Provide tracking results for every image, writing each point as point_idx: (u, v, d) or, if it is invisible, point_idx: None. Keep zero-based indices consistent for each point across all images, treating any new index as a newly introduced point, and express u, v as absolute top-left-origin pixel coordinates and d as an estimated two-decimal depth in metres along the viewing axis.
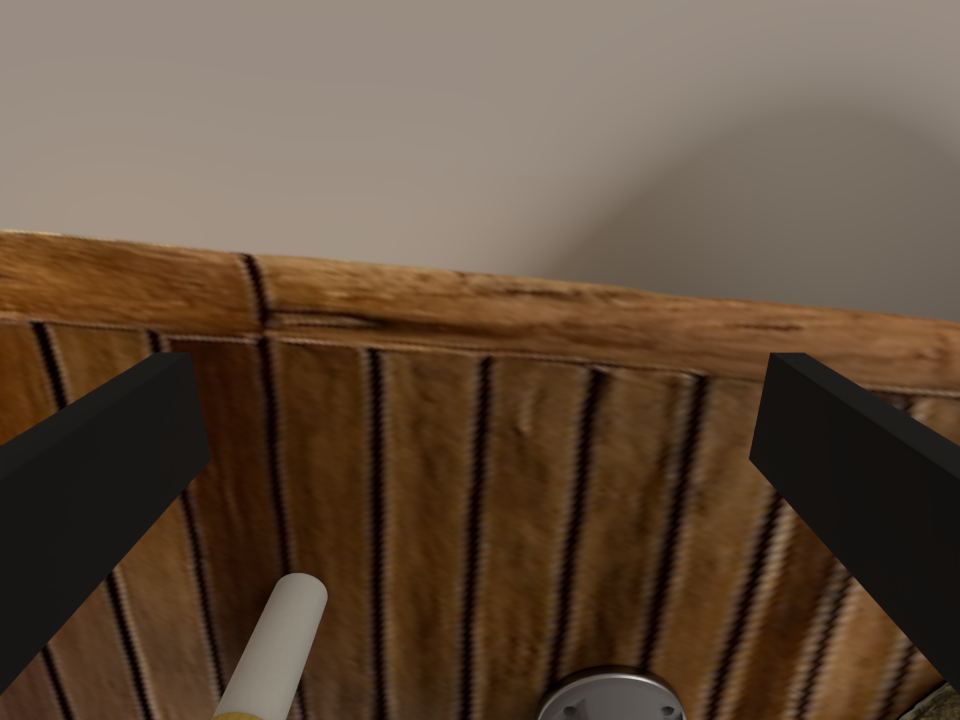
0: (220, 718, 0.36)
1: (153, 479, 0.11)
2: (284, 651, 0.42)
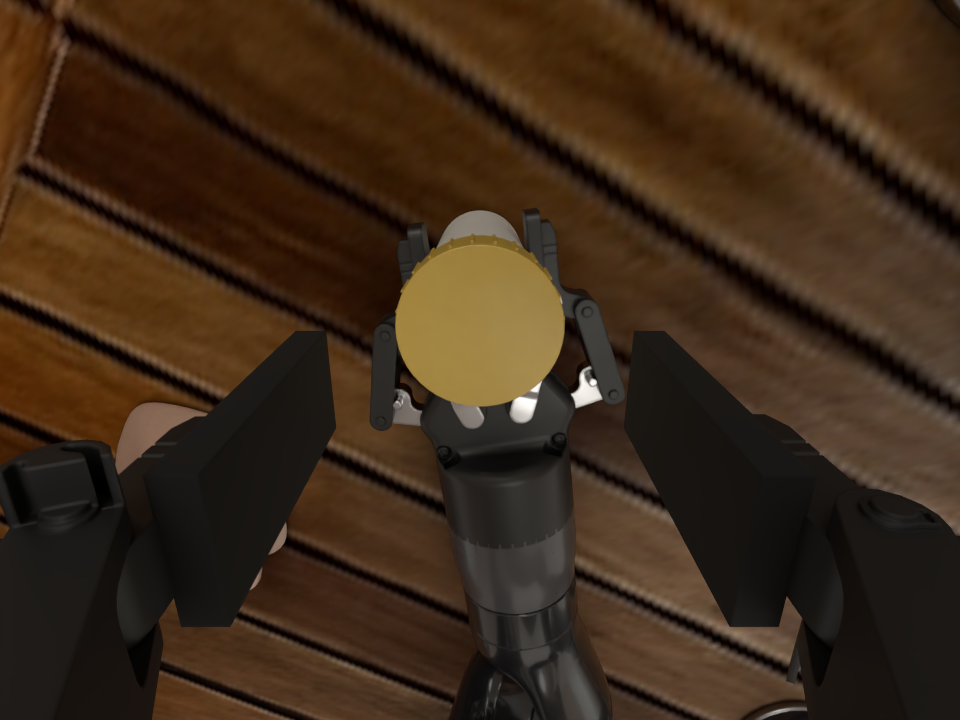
0: None
1: (308, 439, 0.12)
2: (455, 232, 0.24)
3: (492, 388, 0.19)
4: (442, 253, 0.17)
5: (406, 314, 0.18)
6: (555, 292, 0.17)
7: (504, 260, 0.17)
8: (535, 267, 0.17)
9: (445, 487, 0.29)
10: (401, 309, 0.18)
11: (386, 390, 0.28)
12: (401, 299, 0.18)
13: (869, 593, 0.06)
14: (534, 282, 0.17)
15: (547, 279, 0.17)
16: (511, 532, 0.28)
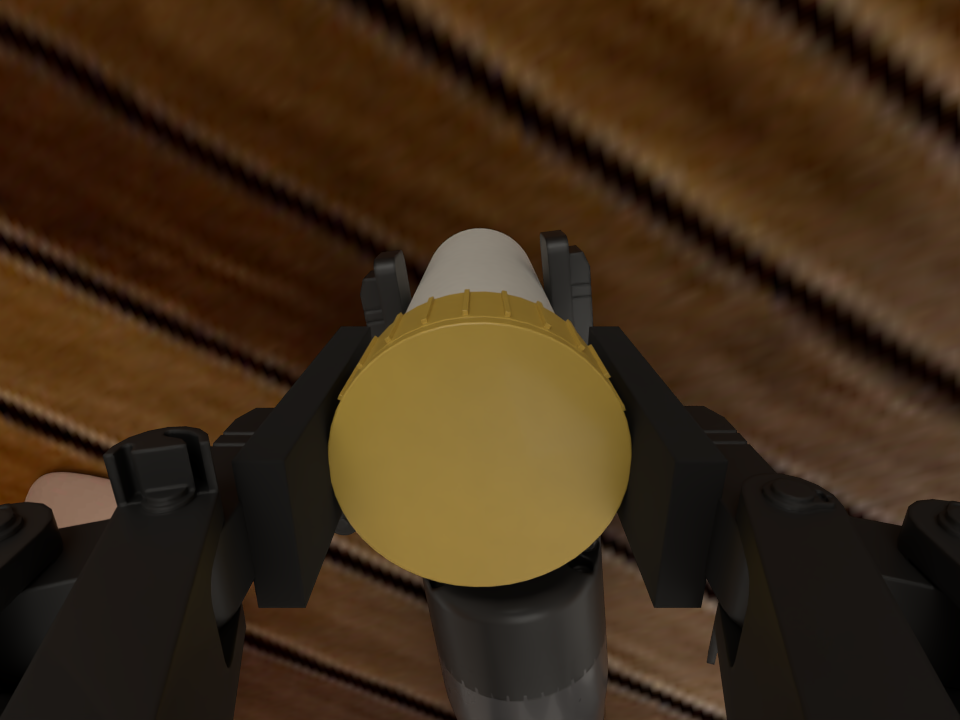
0: None
1: None
2: (444, 269, 0.16)
3: (501, 560, 0.11)
4: (409, 337, 0.09)
5: (346, 442, 0.10)
6: (618, 405, 0.10)
7: (525, 350, 0.09)
8: (582, 362, 0.09)
9: (432, 610, 0.21)
10: (337, 433, 0.10)
11: None
12: (336, 417, 0.10)
13: (769, 575, 0.06)
14: (580, 388, 0.09)
15: (604, 383, 0.09)
16: (523, 681, 0.20)
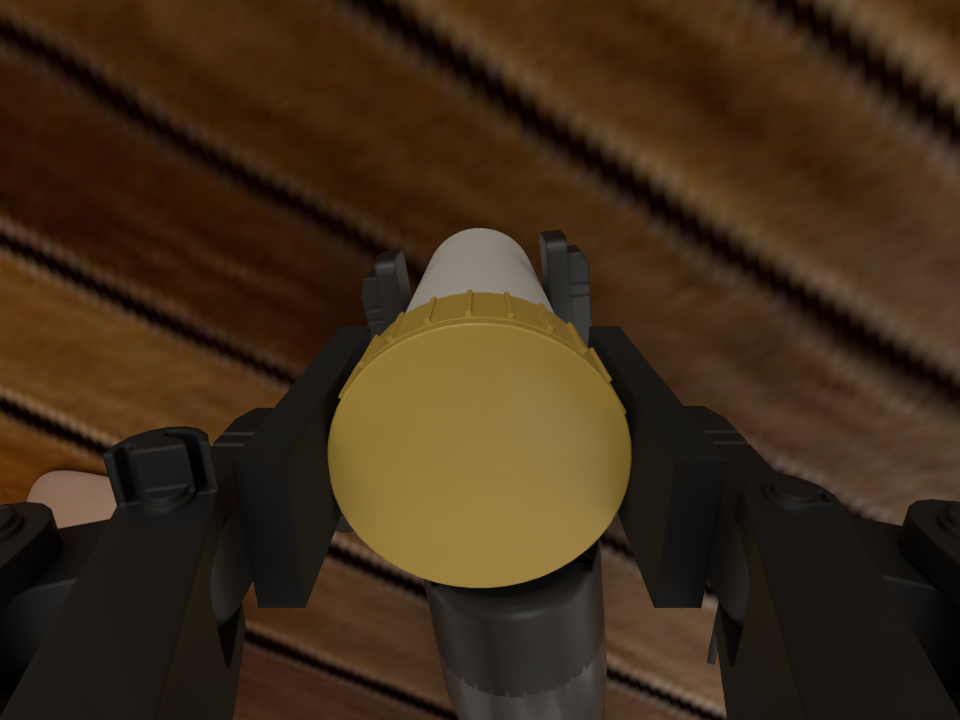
0: None
1: None
2: (444, 268, 0.17)
3: (586, 502, 0.10)
4: None
5: (392, 547, 0.11)
6: (489, 326, 0.09)
7: (387, 376, 0.09)
8: (427, 334, 0.09)
9: (432, 607, 0.21)
10: (381, 549, 0.11)
11: None
12: (366, 541, 0.11)
13: (769, 575, 0.06)
14: (451, 350, 0.09)
15: (459, 327, 0.09)
16: (523, 677, 0.20)
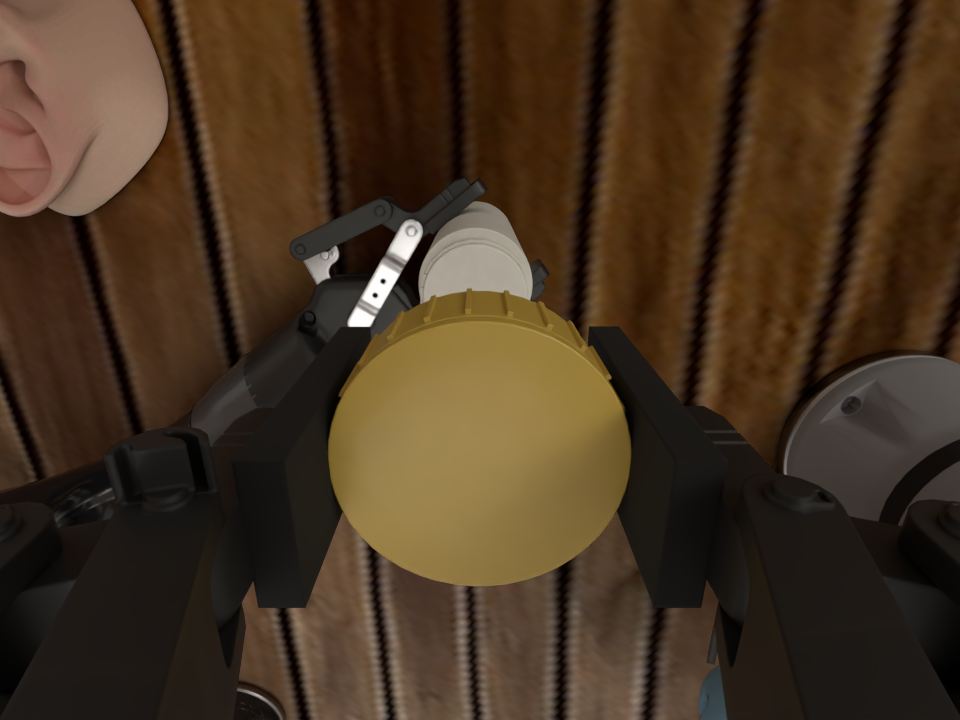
0: None
1: None
2: (502, 222, 0.27)
3: (586, 500, 0.10)
4: (328, 453, 0.10)
5: (392, 545, 0.11)
6: (489, 324, 0.09)
7: (387, 374, 0.09)
8: (427, 333, 0.09)
9: (280, 339, 0.30)
10: (381, 547, 0.11)
11: (331, 238, 0.28)
12: (366, 540, 0.11)
13: (769, 575, 0.06)
14: (451, 348, 0.09)
15: (458, 325, 0.09)
16: None
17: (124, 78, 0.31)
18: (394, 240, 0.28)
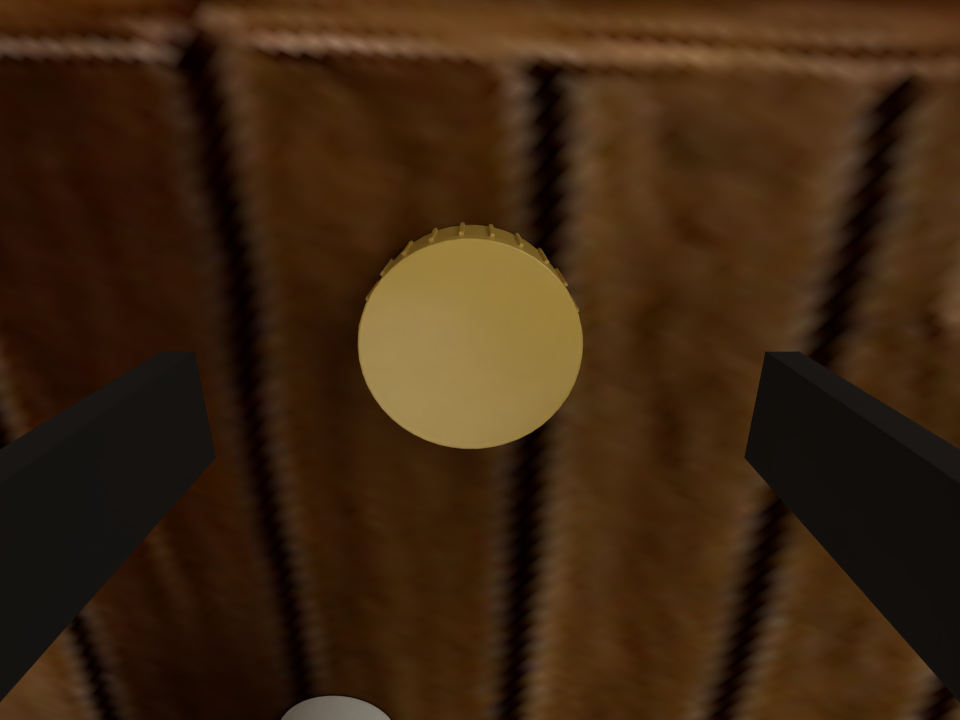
0: None
1: (159, 477, 0.11)
2: None
3: (550, 378, 0.14)
4: (358, 341, 0.13)
5: (406, 415, 0.14)
6: (476, 240, 0.12)
7: (402, 279, 0.13)
8: (432, 247, 0.13)
9: None
10: (397, 417, 0.14)
11: None
12: (386, 411, 0.14)
13: None
14: (449, 259, 0.13)
15: (454, 241, 0.12)
16: None
17: None
18: None
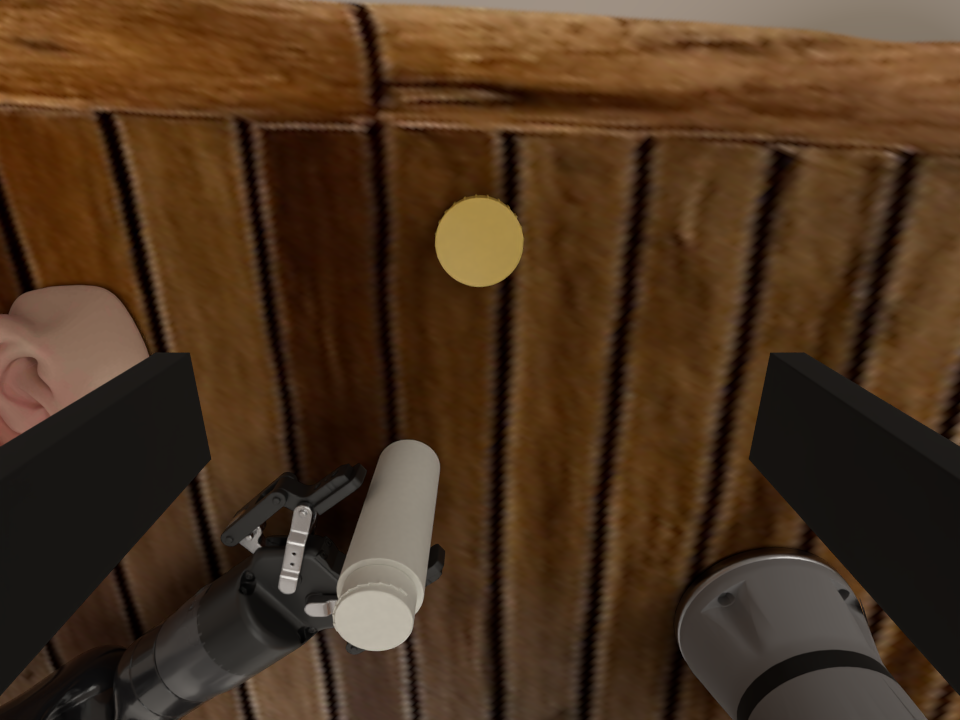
0: None
1: (153, 479, 0.11)
2: (413, 505, 0.35)
3: (511, 255, 0.35)
4: (435, 238, 0.34)
5: (453, 271, 0.35)
6: (481, 198, 0.33)
7: (453, 213, 0.34)
8: (465, 201, 0.34)
9: (225, 595, 0.37)
10: (449, 272, 0.35)
11: (249, 526, 0.36)
12: (445, 269, 0.35)
13: None
14: (471, 205, 0.34)
15: (473, 198, 0.33)
16: (229, 660, 0.37)
17: (117, 363, 0.38)
18: (292, 522, 0.36)
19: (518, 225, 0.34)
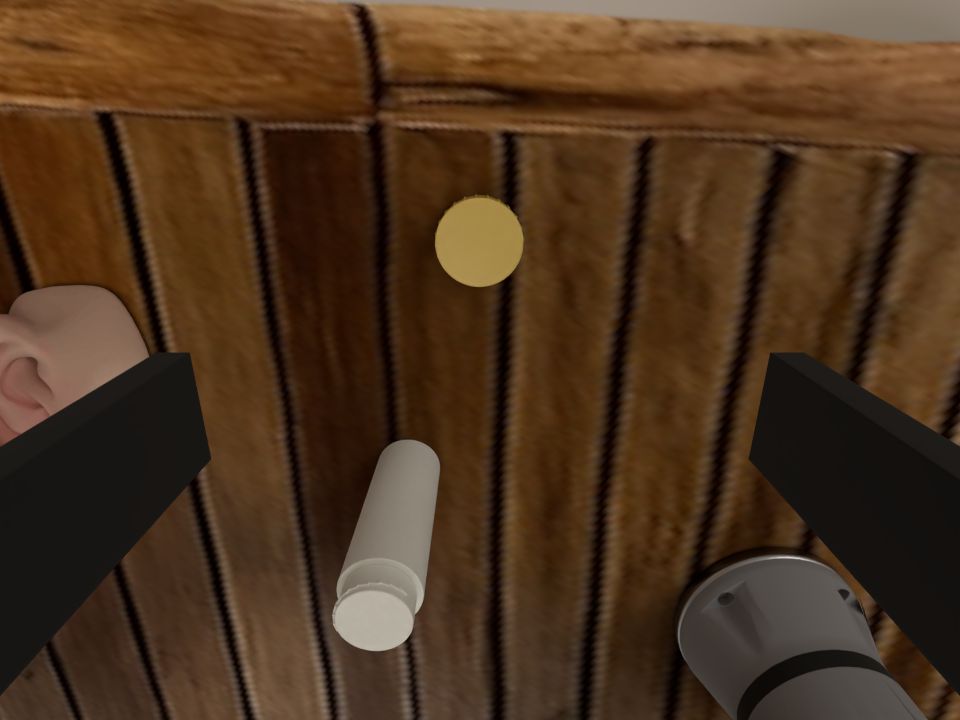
0: None
1: (153, 479, 0.11)
2: (413, 505, 0.35)
3: (511, 255, 0.35)
4: (435, 238, 0.34)
5: (453, 271, 0.35)
6: (481, 198, 0.33)
7: (453, 213, 0.34)
8: (465, 201, 0.34)
9: None
10: (449, 272, 0.35)
11: None
12: (445, 269, 0.35)
13: None
14: (471, 205, 0.34)
15: (473, 198, 0.33)
16: None
17: (117, 363, 0.38)
18: None
19: (518, 225, 0.34)
